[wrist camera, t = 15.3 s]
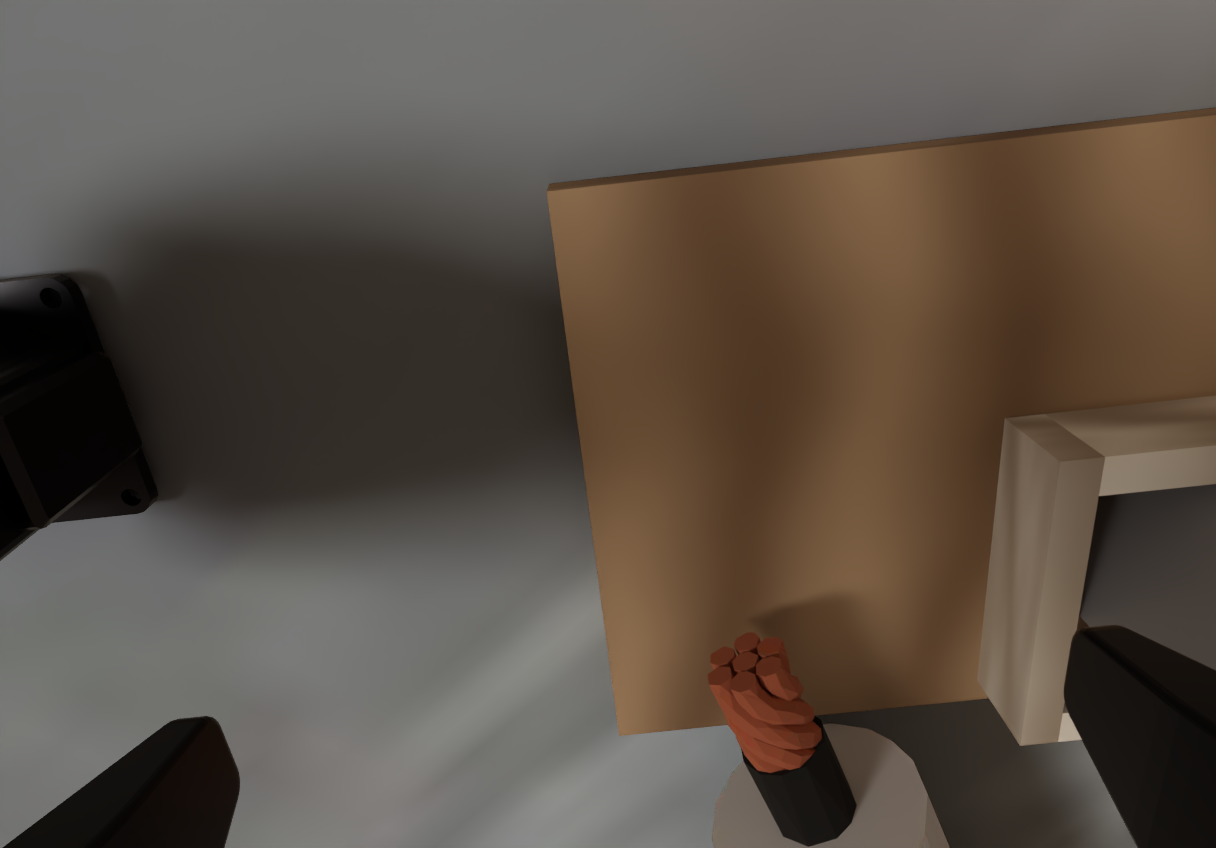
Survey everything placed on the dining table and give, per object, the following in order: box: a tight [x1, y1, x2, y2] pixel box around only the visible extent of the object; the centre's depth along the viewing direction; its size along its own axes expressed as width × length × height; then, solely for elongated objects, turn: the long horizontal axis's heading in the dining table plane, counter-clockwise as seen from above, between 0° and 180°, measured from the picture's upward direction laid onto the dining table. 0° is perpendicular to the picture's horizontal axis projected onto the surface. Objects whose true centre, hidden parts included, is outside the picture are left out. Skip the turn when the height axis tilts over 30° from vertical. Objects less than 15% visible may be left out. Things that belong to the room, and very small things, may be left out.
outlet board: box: [547, 108, 1216, 746], centre depth 20 cm, size 20×16×4 cm
